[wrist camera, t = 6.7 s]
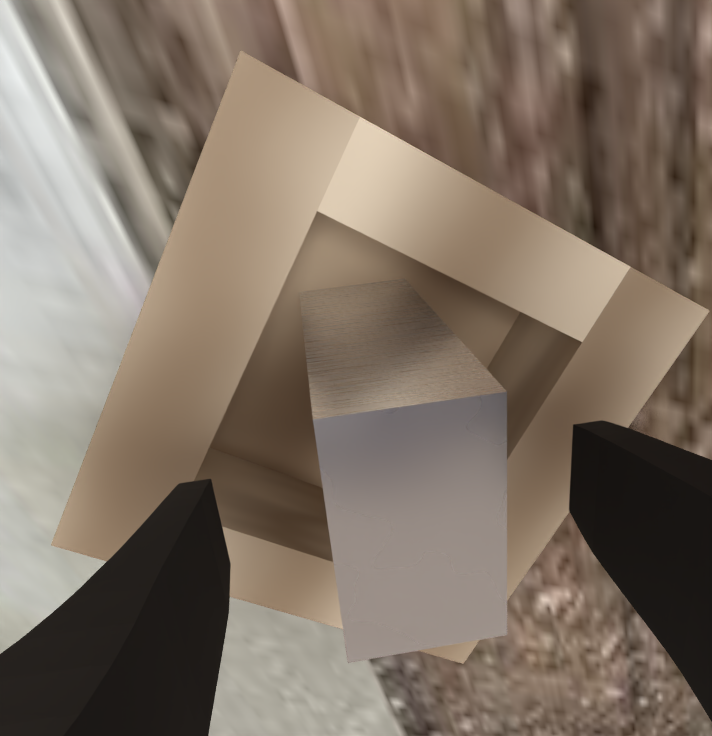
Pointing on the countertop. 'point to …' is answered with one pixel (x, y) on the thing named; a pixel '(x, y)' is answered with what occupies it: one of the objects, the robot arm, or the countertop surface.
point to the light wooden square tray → (287, 347)
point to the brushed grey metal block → (407, 470)
